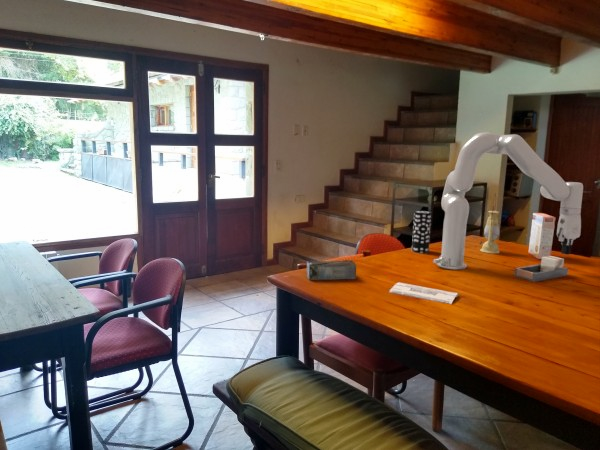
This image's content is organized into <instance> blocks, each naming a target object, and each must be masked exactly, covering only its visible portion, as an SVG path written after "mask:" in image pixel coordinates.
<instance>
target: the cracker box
mask: <svg viewBox="0 0 600 450" xmlns="http://www.w3.org/2000/svg"><path fill="white" fill-rule="evenodd" d="M531 219H532V220H531V228H530V236H529V244H528V253H527V254H529V255H531V256H533V257H534V258H536V260H542V257H546V256H552V255H551V254H552V248H553V247H552V246H553V240H554V234H555V233H554V231H555V225H556V217H555V216H552V215H549V214H547V213H543V212H533V213H532V218H531Z"/></svg>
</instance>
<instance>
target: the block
mask: <svg viewBox="0 0 600 450" xmlns="http://www.w3.org/2000/svg"><path fill="white" fill-rule="evenodd" d="M540 261H541V262H540V264H541V269H540V271H548V270H554V269H559V268H564V265H565V264H564V263H565V259H564V258H561V257H558V256H553V255H551V256H546V257H542V259H540Z"/></svg>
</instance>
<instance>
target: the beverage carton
mask: <svg viewBox="0 0 600 450" xmlns="http://www.w3.org/2000/svg"><path fill="white" fill-rule="evenodd" d="M306 276H307V278H308V280H309V281H328V280H329V281H330V280H332V281H333V280H356V278H357V264H356V263H355V262H354V260H349V259H346V260H323V261H322V260H319V261H318V260H317V261H316V260H315V261H313V260H312V261H311V260H309V261H306Z"/></svg>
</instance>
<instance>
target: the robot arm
mask: <svg viewBox="0 0 600 450" xmlns="http://www.w3.org/2000/svg"><path fill="white" fill-rule="evenodd" d="M485 154H492V155H493V154H495V155H507V156H508V157H509V158H510V160H511V161H512V162H513V163H514V165H516V167H518V168H519V170H520V171H521V173H523V174H524V175H526V176H527V177H530V178H531V179H533V180H534V181H536V182H537V183H538V184H540V189H539V192H540V194H541V196H542V197H544V198H546V199H549V200H552V201H557V202H560V208H559V218H558V222H557V228H556V236H557V238H558V241H559V242H561V243H560V244H561V247H560V248H561V249H560V253H561V254H563V255H571V252H572V245H573V243H574V240H576V239H578V238H580V236H581V231H582V230H581V229H582V218H581V212H582V211H581V210H582V204H583V203H582V201H583V193H584V185H583V183H582V182H576V181H575V182H574V181H565V180H564V179H563V178H562V177H561V176H560V174H559V173H558V172H556V171H555V170H554V169H553V168H552V167H551V166H550V165H549V164H547V162H545V161H544V160H543V159H541V157H540V156H539V155H538V154H537V153H536V152H535V151H534V149H533V148H532V147H531V146H530V145H529V144H528V143H527V141H526V140H525V139H524V138H523V137H522V136H521V135H519V134H516V133H515V134H514V133H513V134H496V133H492V132H488V131H484V132H478V133H476V134H474V135H472V137H471V138H470V139H469V140H468V141H466V143H464V145H463V146H462V148H461V149H460V151H459V154H458V157H457V160H456V163H455V167H454V170H452V171H450V173H449V174H448V175H447V177H446V180H445V184H444V188H443V192H442V197H441V203H440V204H441V209H442V210H443V211H444V218H443V225H442V227H443V228H442V241H441V254H440V255H439V257H438V258H434V259H433V260H432V263H434V264H436V265H437V266H438V267H440V268H443V269H446V270H447V269H448V270H456V271H457V270H459V271H460V270H465V269H466V268H467V264H466V263H465V262H464V257H465V248H466V247H465V246H466V237H467V236H466V235H467V224H468V218H469V213H470V204H469V202H468V200H467V199H466V197H465V196H466V193H467V192H468V191H470V190H471V189H472V188H473V186H474V181H475V176H476V171H477V168H478V164H479V163H480V159H481V158H482V156H483V155H485Z"/></svg>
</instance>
